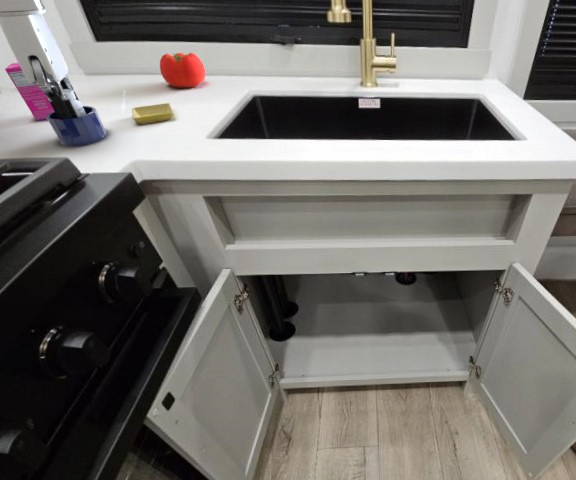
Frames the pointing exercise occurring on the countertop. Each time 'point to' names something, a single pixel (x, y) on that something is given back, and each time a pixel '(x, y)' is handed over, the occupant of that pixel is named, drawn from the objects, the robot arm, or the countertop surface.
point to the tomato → (182, 70)
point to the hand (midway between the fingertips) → (72, 116)
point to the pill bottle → (74, 102)
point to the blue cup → (78, 128)
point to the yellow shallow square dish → (152, 113)
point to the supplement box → (30, 93)
